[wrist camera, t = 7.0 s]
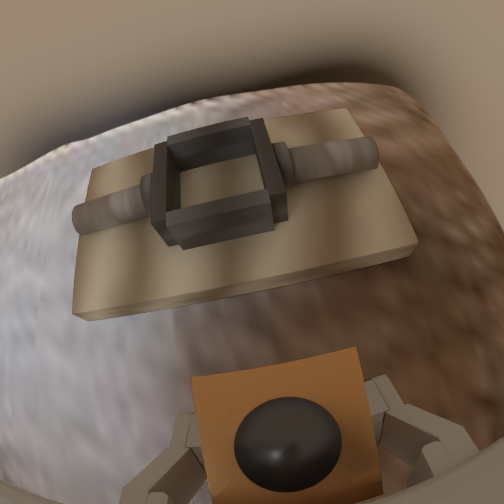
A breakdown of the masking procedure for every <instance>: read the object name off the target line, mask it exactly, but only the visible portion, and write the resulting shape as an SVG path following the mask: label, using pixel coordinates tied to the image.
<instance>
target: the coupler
mask: <svg viewBox="0 0 504 504" xmlns="http://www.w3.org/2000/svg"><path fill="white" fill-rule="evenodd" d="M191 384H192V392H193V399H194V406H195V412H196V419H197V425H198V431H199V437H200V443H201V448H202V454H203V459H204V465H205V470H206V475H207V480H208V484H209V489H210V494H211V498H212V503H213V504H354V503H357V502H361V501H364V500H367V499H370V498H374V497H377V496H380V495H383V488H382V480H381V472H380V466H379V459H378V452H377V446H376V440H375V434H374V429H373V423H372V418H371V412H370V407H369V402H368V397H367V392H366V388H365V383H364V378H363V374H362V369H361V365H360V361H359V356H358V352H357V348H356V346H354V347H350V348H347V349H343V350H339V351H335V352H331V353H327V354H322V355H318V356H314V357H309V358H305V359H300V360H295V361H290V362H285V363H279V364H273V365H268V366H264V367H259V368H253V369H247V370H240V371H234V372H227V373H220V374H212V375H204V376H196V377H191Z"/></svg>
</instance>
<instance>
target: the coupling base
mask: <svg viewBox="0 0 504 504" xmlns="http://www.w3.org/2000/svg"><path fill="white" fill-rule="evenodd" d="M72 222H73V225H74V228H75V230H76V231H77V232H78V233H79V234H80V236H79V243H78V250H77V258H76V267H75V278H74V290H73V307H72V314H74V315H76V316H78V317H80V318H82V319H84V320H86V321H94V320H101V319H107V318H114V317H120V316H126V315H133V314H139V313H145V312H151V311H157V310H163V309H168V308H174V307H180V306H185V305H191V304H196V303H201V302H207V301H212V300H217V299H223V298H228V297H233V296H238V295H243V294H248V293H253V292H258V291H262V290H267V289H272V288H277V287H281V286H286V285H291V284H295V283H300V282H304V281H309V280H313V279H318V278H322V277H326V276H331V275H335V274H339V273H344V272H348V271H352V270H356V269H360V268H364V267H369V266H373V265H377V264H381V263H385V262H389V261H392V260H396V259H400V258H404V257H408V256H410V255H411V253H412V252H413V251H414V249H415V248H416V246H417V245H418V243H419V241H418V239H417V237H416V234H415V232H414V230H413V228H412V225H411V223H410V221H409V219H408V217H407V215H406V212H405V210H404V208H403V206H402V204H401V202H400V200H399V198H398V196H397V194H396V192H395V190H394V188H393V186H392V184H391V182H390V181H389V179H388V177H387V175H386V173H385V171H384V169H383V168H382V166H381V164H380V162H379V152H378V148H377V145H376V143H375V141H374V139H373V138H372V137H364V135H363V133H362V132H361V130H360V128H359V127H358V125H357V124H356V122H355V121H354V119H353V117H352V116H351V114H350V113H349V111H348V110H347V108H344V109H335V110H326V111H319V112H311V113H304V114H298V115H291V116H285V117H279V118H274V119H268V120H263V118H260V119H255V120H250V121H249V119H248V117H244V118H239V119H235V120H230V121H226V122H221V123H217V124H213V125H209V126H205V127H201V128H197V129H193V130H190V131H186V132H182V133H179V134H175V135H172V136H169V137H168V138H167V141H166V142H162V143H159V144H156V145H155V146H154V148H151V149H148V150H145V151H142V152H139V153H136V154H133V155H130V156H127V157H124V158H121V159H118V160H116V161H113V162H110V163H107V164H105V165H102V166H99V167H97V168H94V169H92V173H91V177H90V181H89V186H88V191H87V195H86V201H85V203H82V204H79V205H77V206H75V207H74V208H73V211H72Z"/></svg>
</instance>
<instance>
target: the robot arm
mask: <svg viewBox="0 0 504 504" xmlns="http://www.w3.org/2000/svg"><path fill="white" fill-rule="evenodd" d="M364 383H365V388H366V392H367V397H368V402H369V407H370V412H371V418H372V423H373V429H374V434H375V440H376V444H380V445H381V446H383V447H384V448H385V449H387V450H388V451H390V452H391V453H393V454H394V455H396V456H397V457H399V458H400V459H402V460H403V461H405V462H406V463H408V464H410V465H411V466H413V467H414V469H413V472H412V474H411V476H410V478H409V480H408V482H407V485H408V488H407V489H404V490H402V491H399V492H397V493H394V494H391V495H388V496H386V497H383V498H380V499H377V500H374V501H371V502H368V503H364V504H504V436H503V437H502V438H500V439H499V440H497V441H496V442H494V443H493V444H491V445H490V446H488V447H487V448H485V449H483V450H482V451H480V452H479V450H478V449H477V447H476V445H475V444H474V442H473V441H472V439H471V438H470V436H469V435H468V433H467V432H466V430H465V429H464V427H463V426H461V425H459V424H456V423H454V422H451V421H449V420H446V419H444V418H441V417H439V416H437V415H434V414H432V413H429V412H427V411H425V410H422V409H420V408H418V407H416V406H413V405H411V404H409V403H408V404H404V403H403V401H402V399H401V398H400V396H399V394H398V393H397V391H396V389H395V388H394V386H393V384H392V383H391V381H390V379H389V378H388V376H387V375H386V374H383V375H380V376H377V377H374V378H371V379H367V380H364ZM206 479H207V475H206V470H205V465H204V459H203V454H202V448H201V443H200V437H199V431H198V425H197V419H196V412H185V413H179V414H178V415H177V417H176V421H175V426H174V431H173V436H172V440H171V445H170V448H166V449H165V450H164V451H163V452H162V453H161V454H160V455H159V456H157V457H156V458H155V459H154V460H153V461H152V462H151V463H150V464H149V465H148V466H147V467H146V468H145V469H144V470H142V471H141V472H140V473H139V474H138V475H137V476H136V477H135V478H134V479H133V480H131V481H130V482H129V483H128V484H127V485H126V486H125V487H124V488H123V491H122V494H121V498H120V502H119V504H188V503H189V502H190V500H191V499H192V498H193V497H194V495H195V494H196V493H197V491H198V490H199V488H200V487H201V486H202V484H203V483H204V482H205V480H206ZM0 504H62V503H59V502H56V501H53V500H50V499H47V498H44V497H42V496H39V495H36V494H34V493H31V492H29V491H26V490H24V489H22V488H19V487H17V486H15V485H12V484H10V483H8V482H6V481H4V480H2V479H0Z"/></svg>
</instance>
